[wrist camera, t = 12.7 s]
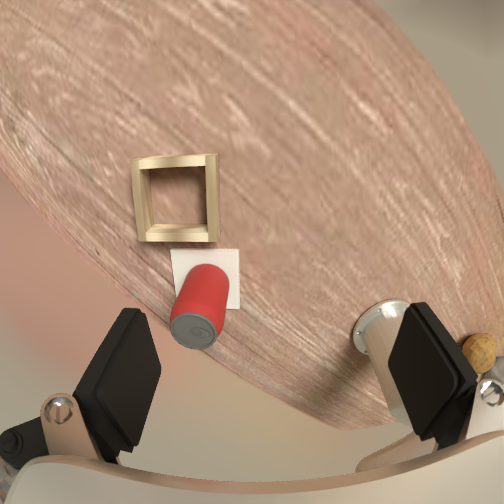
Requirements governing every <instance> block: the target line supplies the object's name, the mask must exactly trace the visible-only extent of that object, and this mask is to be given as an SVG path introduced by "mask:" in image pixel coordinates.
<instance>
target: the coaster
mask: <svg viewBox="0 0 504 504" xmlns="http://www.w3.org/2000/svg"><path fill="white" fill-rule="evenodd" d="M170 253H171V261H172V269H173V276H174V284H175V291H176V297H178V294H179V292H180V290H181V287H182V285H183V283H184V281H185V278H186V276H187V274H188V272H189V271H190V270H191V269H192V268H193V267H195V266H196V265H200V264H213V265H216V266H218V267H219V268H221V269H222V270H223V271H224V272H225V273H226V274H227V276H228V279H229V284H230V288H229V294H228V300H227V306H226V309H240V286H239V249H197V248H171V249H170Z"/></svg>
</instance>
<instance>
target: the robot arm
mask: <svg viewBox="0 0 504 504" xmlns="http://www.w3.org/2000/svg"><path fill="white" fill-rule="evenodd" d="M353 341H354V344H355V346H356V348H357V349H358V350H359V351H360V352H361V353H363V354H366V355H368V356H369V358H370V361H371V363H372V366H373V368H374V371H375V373H376V376H377V378H378V381H379V384H380V386H381V389H382V392H383V394H384V397H385V400H386V403H387V405H388V408H389V411H390V413H391V415H392V416H393V417H394V418H395V419H396V420H397V421H398V422H400V423H402V424H404V425H407V426H409V427H412V428H413V430H414V431H413V432H411V433H410V434H408V435H407V436H406V437H404V438H402V439H400V440H398V441H396V442H395V443H393V444H391V445H389V446H387V447H385V448H383V449H380V450H378V451H377V452H374V453H372V454H371V455H368V456H367V457H365V458H364V459H362V460H361V461H360V462H359V464H358V465H357V467H356V469H355V473H352V474H346V475H340V476H334V477H326V478H318V479H309V480H299V481H281V482H231V481H214V480H202V479H193V478H184V477H178V476H171V475H164V474H159V473H153V472H147V471H143V470H137V469H133V468H129V467H124V466H122V464H121V462H120V460H119V458H118V455H119V453H120V450H122V451H126V452H131V453H132V451H133V447H134V446H137V445H138V444H139V441H140V438H141V435H142V431H143V428H144V425H145V421H146V418H147V415H148V412H149V409H150V405H151V402H152V399H153V396H154V393H155V390H156V387H157V384H158V380H159V378H160V375H161V364H160V361H159V358H158V355H157V352H156V349H155V345H154V342H153V339H152V335H151V332H150V328H149V325H148V321H147V317H146V315H145V313H142V312H141V310H140V309H137V308H124V309H123V310H122V311H121V313H120V314H119V316H118V317H117V319H116V321H115V322H114V324H113V325H112V327H111V329H110V331H109V332H108V334H107V336H106V337H105V339H104V340H103V342H102V344H101V345H100V347H99V348H98V350H97V352H96V353H95V355H94V357H93V359H92V360H91V362H90V364H89V366H88V367H87V369H86V371H85V373H84V375H83V377H82V378H81V380H80V382H79V384H78V385H77V387H76V389H75V391H74V393H73V395H72V396H71V395H69V394H66V393H58V394H54V395H52V396H50V397H49V398H48V399H46V400H45V402H44V403H43V405H42V407H41V410H40V417H37V418H35V419H33V420H30V421H28V422H25V423H23V424H20V425H18V426H15V427H12V428H10V429H8V430H6V431H4V432H3V433H2V434H1V435H0V504H504V386H503V385H502V384H501V383H500V382H498V381H496V380H494V379H484V380H482V381H480V382H479V383H477V381H476V380H477V378H478V375H477V373H476V372H475V370H474V369H473V367H472V366H471V364H470V363H469V361H468V360H467V358H466V357H465V355H464V354H463V352H462V351H461V349H460V348H459V346H458V345H457V344H456V342H455V341H454V339H453V338H452V337H451V335H450V334H449V332H448V331H447V330H446V328H445V327H444V326H443V324H442V323H441V321H440V320H439V319H438V317H437V316H436V315H435V314H434V312H433V311H432V310H431V308H430V307H429V306H428V304H427V303H425V302H420V303H412V304H409V303H408V302H406V301H404V300H400V299H390V300H386V301H383V302H380V303H378V304H376V305H374V306H372V307H371V308H370V309H368V310H367V311H366V312H365V313H364V314H363V315H362V316H361V317H360V319H359V320H358V321H357V323H356V325H355V327H354V331H353Z"/></svg>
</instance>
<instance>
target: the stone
mask: <svg viewBox="0 0 504 504" xmlns="http://www.w3.org/2000/svg"><path fill="white" fill-rule="evenodd" d="M484 379H494V380H496V381H498V382H500V383H501V384H502V385H503V384H504V356H501V357H497V358H496V360H495V363H494V365H493V367H492V368H491V369H490V370H489V371H487V372H486V373H485V375H484Z"/></svg>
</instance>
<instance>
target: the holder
mask: <svg viewBox="0 0 504 504" xmlns="http://www.w3.org/2000/svg"><path fill="white" fill-rule="evenodd" d="M130 165H131V178H132V189H133V199H134V208H135V217H136V225H137V232H138V239H139V241H164V242H218V239H219V236H220V234H221V221H220V183H219V153H210V154H185V155H168V156H154V157H143V158H138V159H135V160H131V161H130ZM185 166H205V171H206V201H207V223H208V224H154V220H153V211H152V200H151V188H150V175H149V169H150V168H166V167H185Z"/></svg>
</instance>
